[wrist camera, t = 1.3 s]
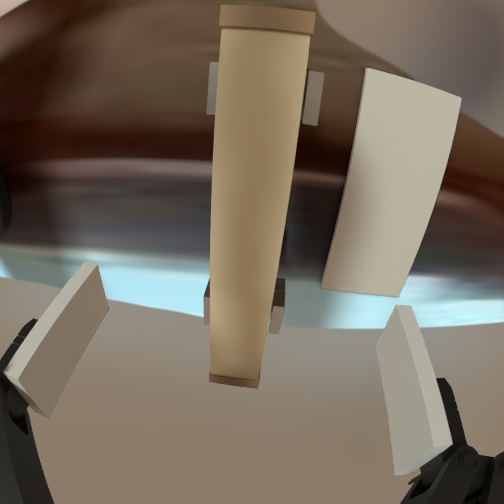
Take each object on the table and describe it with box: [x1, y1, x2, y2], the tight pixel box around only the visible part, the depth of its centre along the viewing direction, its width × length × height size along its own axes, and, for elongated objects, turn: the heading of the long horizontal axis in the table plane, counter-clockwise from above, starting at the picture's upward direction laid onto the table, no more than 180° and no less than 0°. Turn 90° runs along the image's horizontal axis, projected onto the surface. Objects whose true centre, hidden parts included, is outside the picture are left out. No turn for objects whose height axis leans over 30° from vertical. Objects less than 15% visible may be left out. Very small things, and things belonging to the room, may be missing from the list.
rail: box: [209, 5, 315, 389], centre depth 19 cm, size 4×24×6 cm, turn 175°
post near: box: [207, 62, 324, 126], centre depth 20 cm, size 6×5×11 cm
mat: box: [320, 68, 461, 297], centre depth 29 cm, size 10×24×1 cm, turn 175°
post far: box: [204, 278, 285, 334], centre depth 28 cm, size 6×5×11 cm
